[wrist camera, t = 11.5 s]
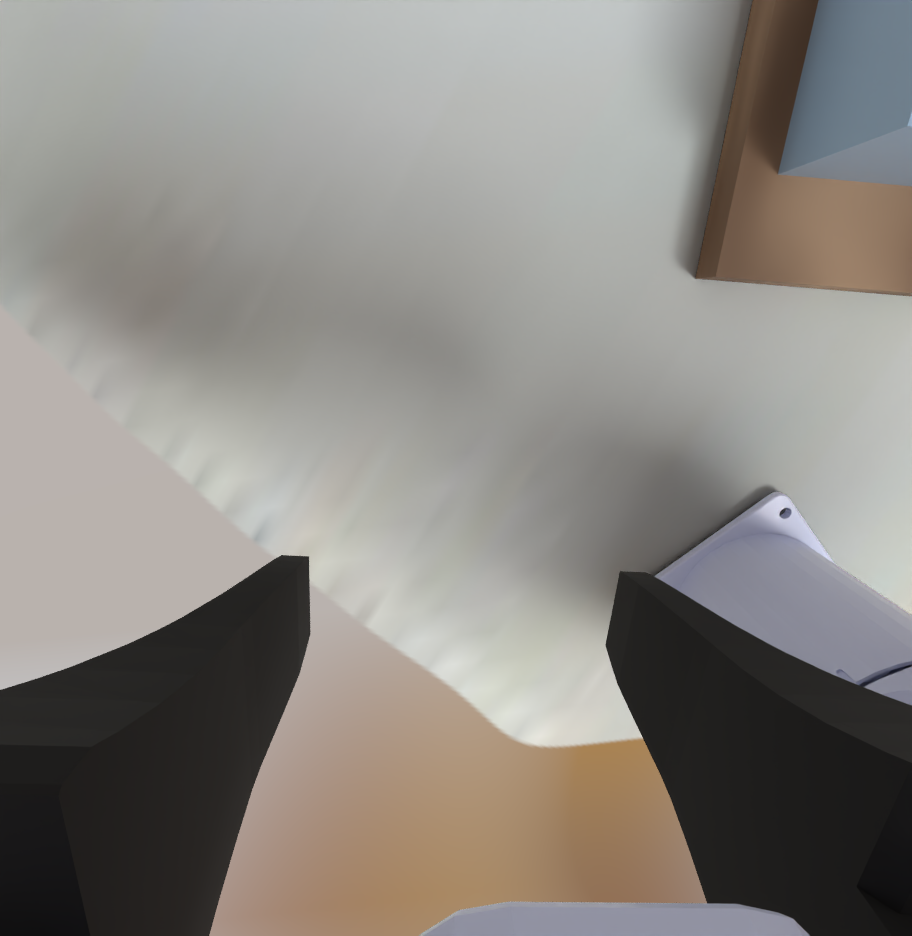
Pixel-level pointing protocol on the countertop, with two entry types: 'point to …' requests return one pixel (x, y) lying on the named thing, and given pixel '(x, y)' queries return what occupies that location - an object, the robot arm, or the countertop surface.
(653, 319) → the countertop surface
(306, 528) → the countertop surface
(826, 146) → the collar
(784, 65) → the stub board
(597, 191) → the countertop surface
